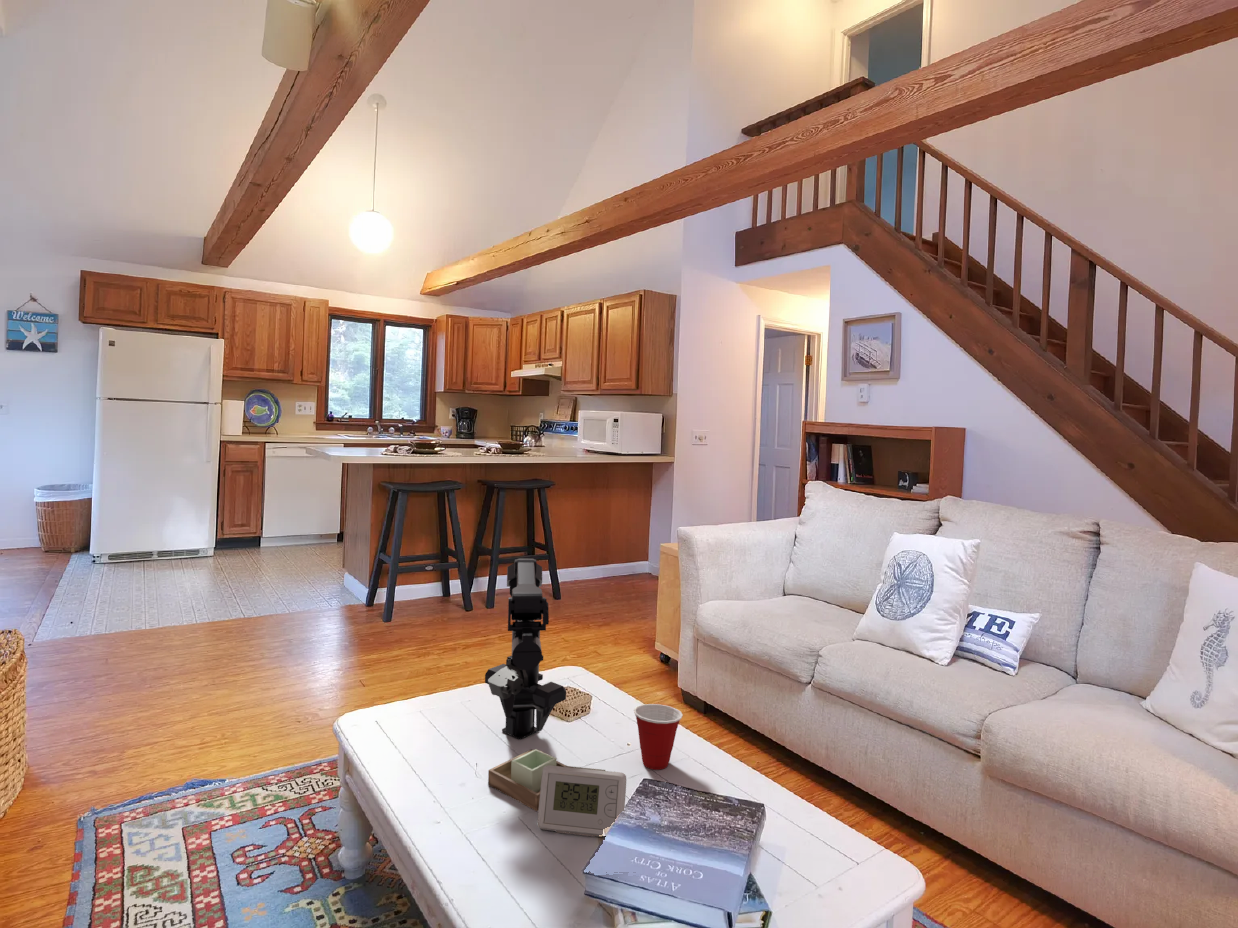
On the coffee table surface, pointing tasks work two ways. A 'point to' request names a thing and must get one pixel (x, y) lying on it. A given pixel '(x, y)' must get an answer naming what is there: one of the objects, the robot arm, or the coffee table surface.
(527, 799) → the big crate
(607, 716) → the coffee table surface
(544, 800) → the digital clock
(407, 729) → the coffee table surface
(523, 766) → the small crate
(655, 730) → the plastic cup
